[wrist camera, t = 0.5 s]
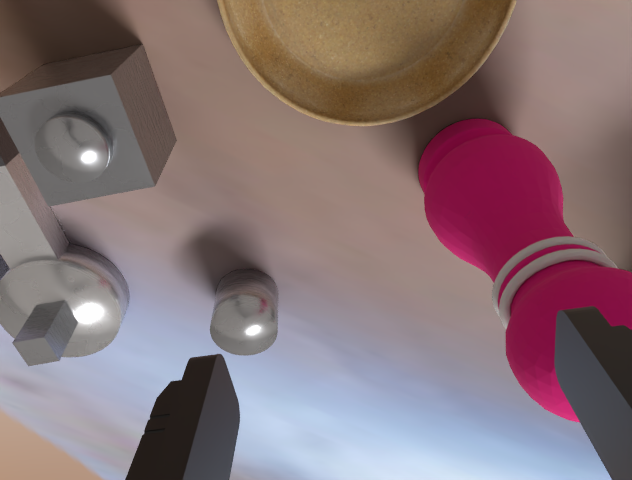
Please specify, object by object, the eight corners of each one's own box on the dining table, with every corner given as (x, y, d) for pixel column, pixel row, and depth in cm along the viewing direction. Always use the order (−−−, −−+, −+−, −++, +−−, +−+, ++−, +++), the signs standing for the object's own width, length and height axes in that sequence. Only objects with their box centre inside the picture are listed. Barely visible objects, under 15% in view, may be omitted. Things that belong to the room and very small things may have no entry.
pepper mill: (398, 132, 31) (526, 394, 15) (517, 92, 30) (803, 324, 14) (423, 228, 35) (547, 523, 18) (530, 195, 34) (765, 476, 17)
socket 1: (43, 64, 28) (-18, 105, 23) (142, 43, 28) (105, 79, 22) (86, 157, 31) (42, 214, 26) (176, 140, 31) (151, 193, 25)
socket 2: (209, 274, 36) (201, 312, 33) (270, 263, 36) (268, 300, 33) (226, 320, 39) (220, 360, 36) (283, 310, 39) (283, 349, 35)
